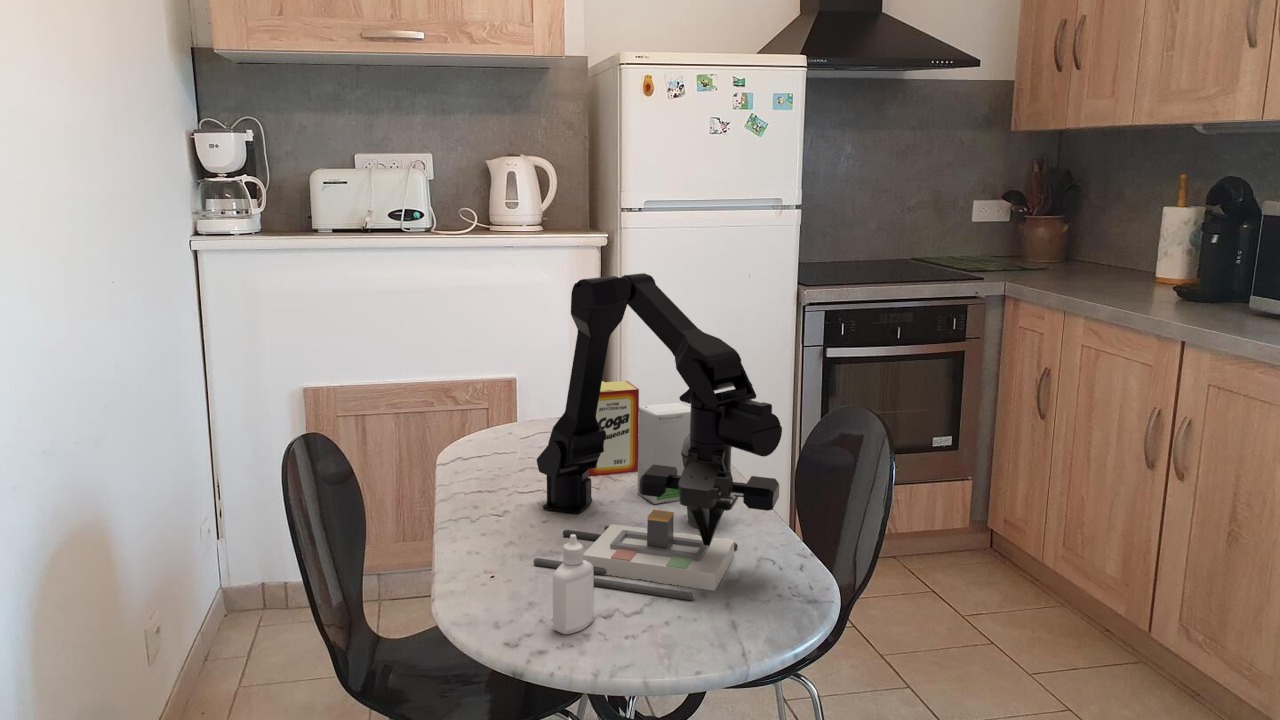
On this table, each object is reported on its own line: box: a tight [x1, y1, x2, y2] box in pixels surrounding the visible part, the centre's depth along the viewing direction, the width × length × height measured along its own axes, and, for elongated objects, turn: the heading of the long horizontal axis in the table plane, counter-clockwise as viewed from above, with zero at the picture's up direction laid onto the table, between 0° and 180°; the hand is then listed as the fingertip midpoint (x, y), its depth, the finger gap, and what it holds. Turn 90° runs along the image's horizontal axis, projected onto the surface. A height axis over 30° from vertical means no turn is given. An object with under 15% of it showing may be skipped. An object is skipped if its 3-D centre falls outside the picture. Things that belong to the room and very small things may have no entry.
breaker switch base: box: [583, 523, 735, 592], centre depth 140 cm, size 19×12×3 cm, turn 72°
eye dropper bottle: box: [552, 534, 595, 635], centre depth 121 cm, size 4×6×12 cm
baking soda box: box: [588, 380, 640, 478], centre depth 179 cm, size 10×6×16 cm
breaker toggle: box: [646, 509, 675, 549], centre depth 139 cm, size 3×3×5 cm
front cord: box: [533, 557, 695, 601], centre depth 134 cm, size 24×4×1 cm, turn 72°
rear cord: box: [562, 525, 739, 550], centre depth 147 cm, size 26×4×1 cm, turn 72°
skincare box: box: [636, 402, 691, 505], centre depth 165 cm, size 8×7×16 cm
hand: (707, 544), depth 137 cm, fingers closed
